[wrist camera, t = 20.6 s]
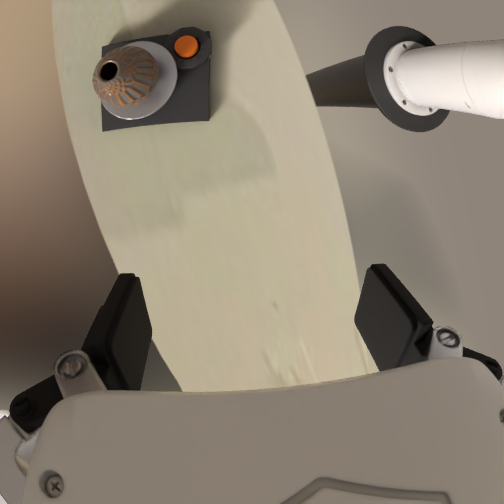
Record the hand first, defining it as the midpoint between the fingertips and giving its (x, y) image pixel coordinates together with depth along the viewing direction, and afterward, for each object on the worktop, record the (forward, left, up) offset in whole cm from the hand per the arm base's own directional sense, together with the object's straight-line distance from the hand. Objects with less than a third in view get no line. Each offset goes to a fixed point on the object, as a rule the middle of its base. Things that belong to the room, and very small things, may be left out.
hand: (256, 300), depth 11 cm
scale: (+10, -12, -28) cm, 32 cm away
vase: (+11, -12, -25) cm, 30 cm away
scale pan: (+11, -12, -25) cm, 30 cm away
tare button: (+5, -15, -26) cm, 31 cm away
